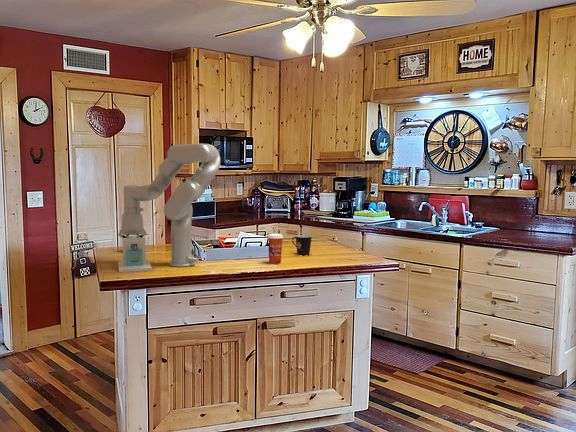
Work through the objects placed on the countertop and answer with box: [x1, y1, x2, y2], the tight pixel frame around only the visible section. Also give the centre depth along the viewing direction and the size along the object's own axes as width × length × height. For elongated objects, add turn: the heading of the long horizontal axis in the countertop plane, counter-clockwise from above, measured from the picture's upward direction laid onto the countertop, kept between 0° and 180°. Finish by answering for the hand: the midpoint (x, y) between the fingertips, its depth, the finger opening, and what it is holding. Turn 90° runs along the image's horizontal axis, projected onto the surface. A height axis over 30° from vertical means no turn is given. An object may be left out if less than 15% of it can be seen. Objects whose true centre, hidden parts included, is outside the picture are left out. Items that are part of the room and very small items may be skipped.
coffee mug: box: [291, 234, 313, 257], centre depth 281 cm, size 12×9×10 cm
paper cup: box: [267, 233, 284, 265], centre depth 258 cm, size 8×8×14 cm
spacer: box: [126, 250, 143, 266], centre depth 242 cm, size 2×7×7 cm, turn 109°
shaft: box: [131, 237, 137, 251], centre depth 247 cm, size 20×3×4 cm, turn 19°
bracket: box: [117, 236, 153, 273], centre depth 243 cm, size 18×14×14 cm
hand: (132, 248), depth 255 cm, fingers closed on shaft, 3 cm apart
